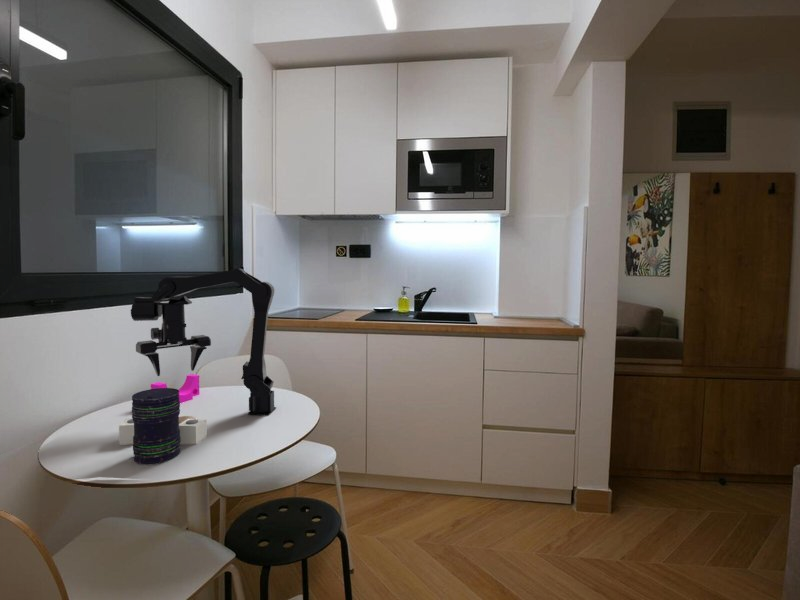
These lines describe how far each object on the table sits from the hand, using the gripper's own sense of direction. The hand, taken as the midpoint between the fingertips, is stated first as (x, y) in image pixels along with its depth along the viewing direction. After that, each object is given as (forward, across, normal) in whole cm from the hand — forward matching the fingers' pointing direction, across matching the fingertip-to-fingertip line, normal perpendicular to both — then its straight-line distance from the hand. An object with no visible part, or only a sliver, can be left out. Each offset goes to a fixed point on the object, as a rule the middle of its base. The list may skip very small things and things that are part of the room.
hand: (175, 373), depth 124 cm
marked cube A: (+14, +3, +20) cm, 24 cm away
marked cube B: (+14, +13, +9) cm, 21 cm away
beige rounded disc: (+14, +3, +11) cm, 18 cm away
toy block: (+14, -6, -18) cm, 23 cm away
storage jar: (+14, +12, +24) cm, 30 cm away
